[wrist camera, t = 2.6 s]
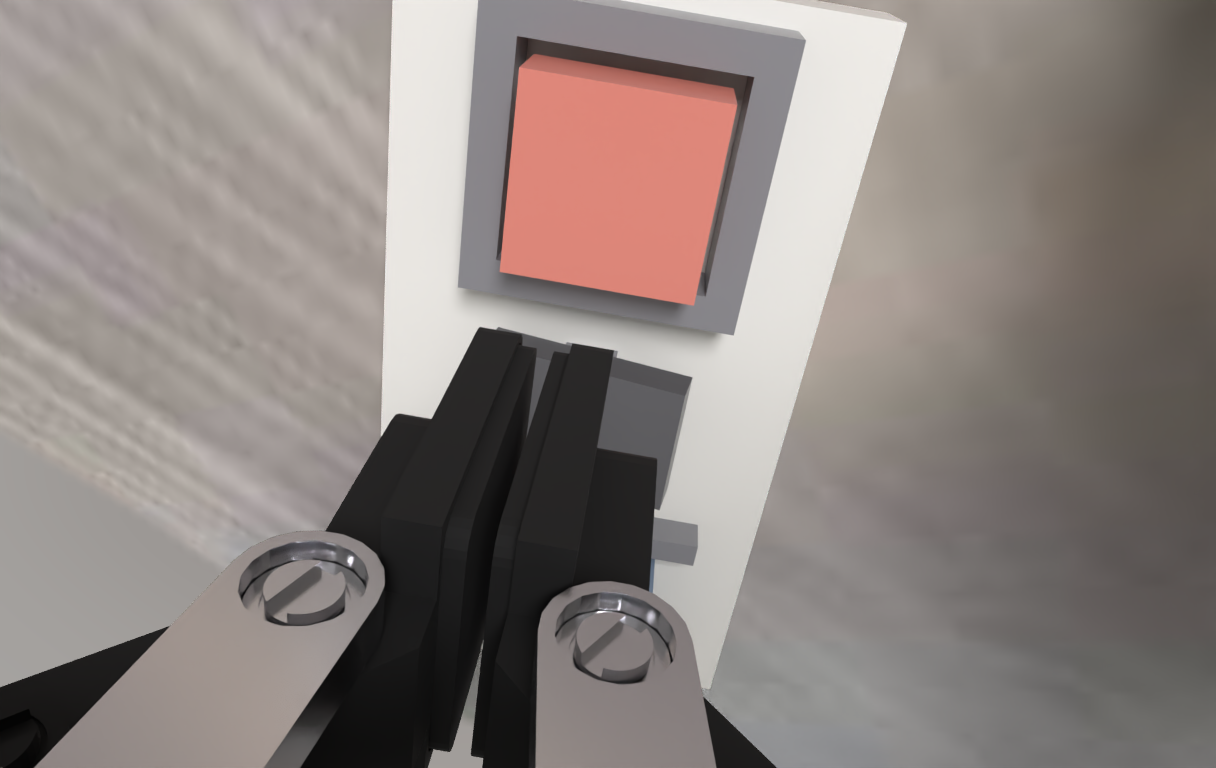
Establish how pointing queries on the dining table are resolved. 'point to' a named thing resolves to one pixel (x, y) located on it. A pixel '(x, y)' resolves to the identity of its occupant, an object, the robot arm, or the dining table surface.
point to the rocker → (629, 408)
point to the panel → (630, 325)
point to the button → (614, 177)
